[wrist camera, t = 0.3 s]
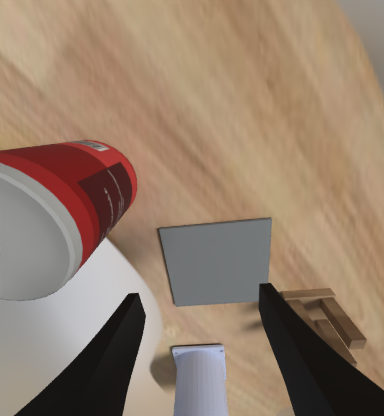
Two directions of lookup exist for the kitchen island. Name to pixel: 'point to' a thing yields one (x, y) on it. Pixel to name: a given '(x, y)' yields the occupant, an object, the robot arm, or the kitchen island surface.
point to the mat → (217, 261)
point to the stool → (326, 319)
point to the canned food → (57, 212)
